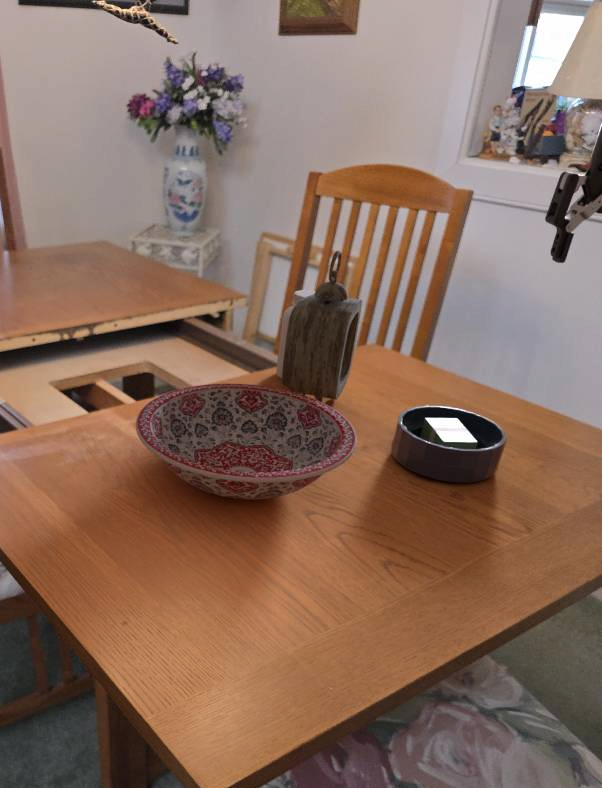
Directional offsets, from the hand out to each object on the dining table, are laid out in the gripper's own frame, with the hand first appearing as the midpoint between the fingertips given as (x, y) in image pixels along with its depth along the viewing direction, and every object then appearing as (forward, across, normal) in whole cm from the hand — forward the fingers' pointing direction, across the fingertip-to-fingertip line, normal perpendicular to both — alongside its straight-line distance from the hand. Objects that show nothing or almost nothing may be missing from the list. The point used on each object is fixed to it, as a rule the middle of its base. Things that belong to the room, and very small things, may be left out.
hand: (588, 262), depth 93 cm
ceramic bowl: (+28, -45, -9) cm, 54 cm away
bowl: (+28, -14, -3) cm, 31 cm away
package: (+27, -14, -3) cm, 31 cm away
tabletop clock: (+28, -30, +16) cm, 44 cm away
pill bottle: (+28, -30, +30) cm, 51 cm away
